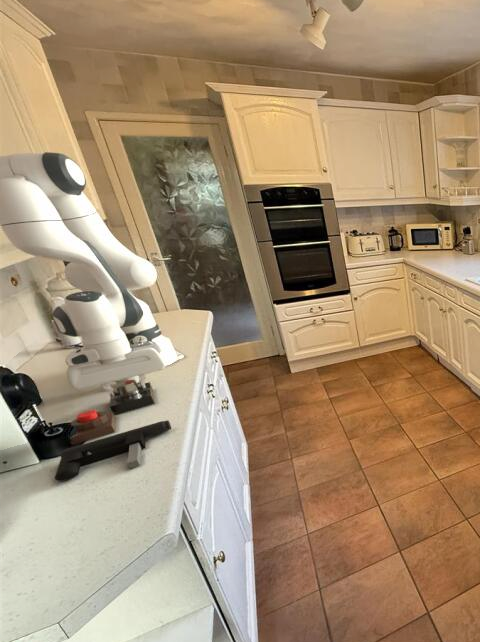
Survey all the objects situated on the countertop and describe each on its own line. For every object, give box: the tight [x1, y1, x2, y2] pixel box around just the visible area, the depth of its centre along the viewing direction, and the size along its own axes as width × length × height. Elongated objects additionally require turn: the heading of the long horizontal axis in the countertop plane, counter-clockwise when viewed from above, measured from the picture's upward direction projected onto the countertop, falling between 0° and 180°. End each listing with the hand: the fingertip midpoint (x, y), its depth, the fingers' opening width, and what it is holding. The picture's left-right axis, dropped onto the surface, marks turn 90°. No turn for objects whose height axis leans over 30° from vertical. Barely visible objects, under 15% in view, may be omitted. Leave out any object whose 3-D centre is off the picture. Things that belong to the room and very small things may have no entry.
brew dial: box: [115, 380, 140, 397], centre depth 116 cm, size 4×4×4 cm
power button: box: [76, 409, 99, 423], centre depth 103 cm, size 4×4×2 cm
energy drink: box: [51, 319, 83, 349], centre depth 163 cm, size 5×5×12 cm
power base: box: [70, 410, 117, 446], centre depth 104 cm, size 10×8×4 cm
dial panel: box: [109, 381, 156, 416], centre depth 118 cm, size 12×9×3 cm
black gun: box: [54, 419, 172, 482], centre depth 93 cm, size 3×20×16 cm
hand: (129, 391), depth 117 cm, fingers closed on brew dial, 4 cm apart
